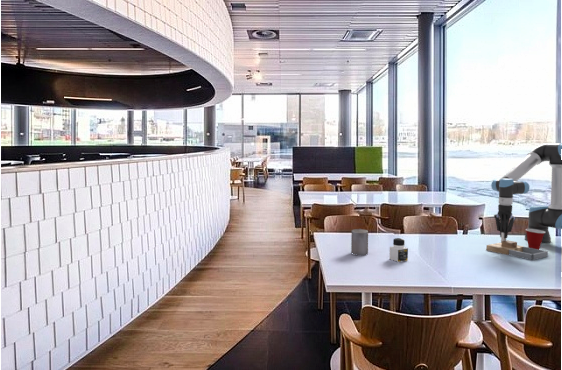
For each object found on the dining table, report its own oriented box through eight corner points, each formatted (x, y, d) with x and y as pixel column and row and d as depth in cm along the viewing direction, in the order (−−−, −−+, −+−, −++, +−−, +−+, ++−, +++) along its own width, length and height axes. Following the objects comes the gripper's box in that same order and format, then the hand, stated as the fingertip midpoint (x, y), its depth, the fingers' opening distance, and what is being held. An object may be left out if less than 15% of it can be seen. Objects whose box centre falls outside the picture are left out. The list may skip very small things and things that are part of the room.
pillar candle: (355, 250, 271) (355, 226, 269) (370, 253, 265) (371, 228, 264) (348, 254, 263) (348, 229, 262) (363, 256, 257) (363, 230, 256)
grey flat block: (523, 251, 270) (523, 246, 270) (547, 256, 258) (547, 251, 258) (508, 254, 262) (509, 249, 262) (532, 260, 250) (533, 254, 250)
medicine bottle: (397, 262, 245) (398, 240, 244) (389, 259, 252) (389, 238, 251) (407, 260, 249) (408, 239, 248) (398, 257, 255) (399, 236, 254)
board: (502, 246, 282) (502, 242, 282) (524, 251, 270) (524, 246, 270) (486, 250, 274) (486, 245, 273) (508, 254, 262) (508, 249, 262)
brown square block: (507, 245, 274) (507, 240, 273) (516, 247, 268) (517, 242, 268) (501, 246, 270) (501, 241, 270) (510, 248, 265) (511, 243, 265)
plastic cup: (547, 251, 270) (548, 232, 268) (527, 250, 272) (528, 231, 271) (540, 247, 280) (541, 228, 279) (521, 246, 282) (522, 227, 281)
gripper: (491, 203, 274) (489, 241, 276) (512, 206, 263) (509, 245, 265) (499, 202, 278) (497, 240, 280) (519, 205, 267) (517, 244, 269)
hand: (503, 243), depth 273 cm, fingers closed
